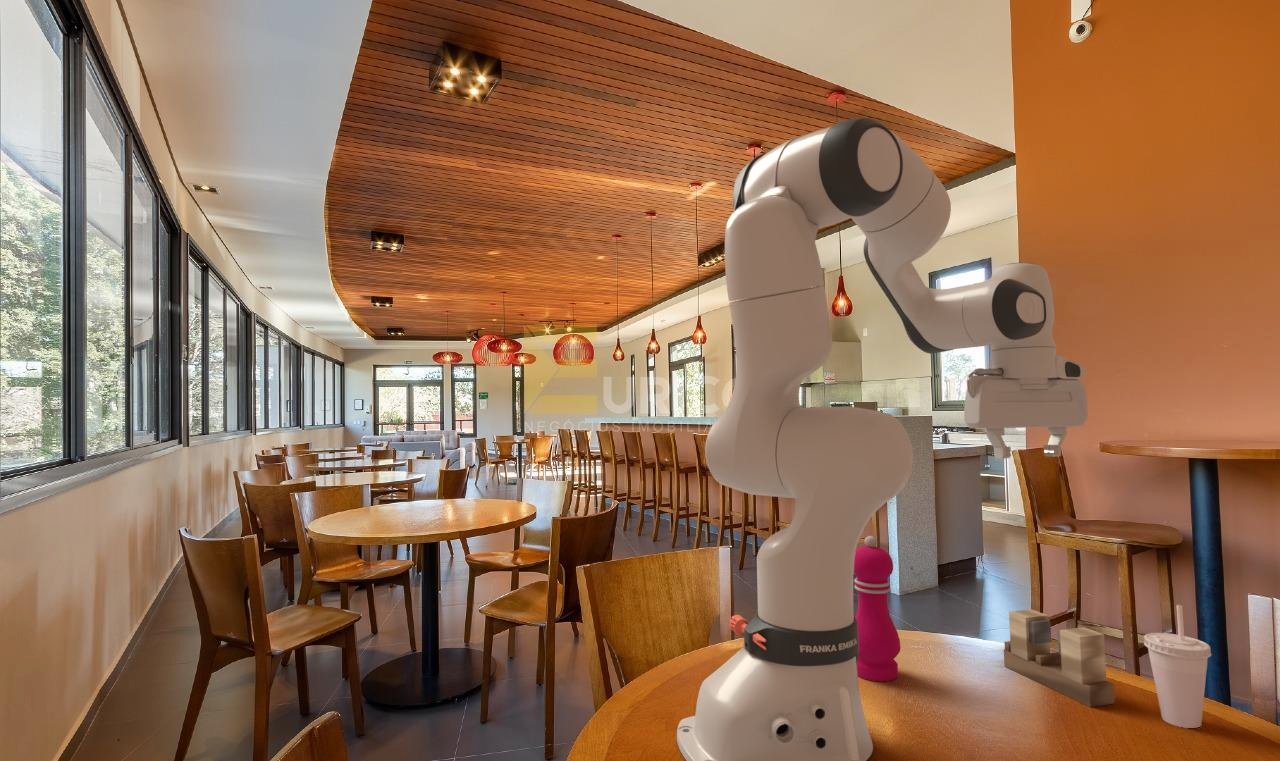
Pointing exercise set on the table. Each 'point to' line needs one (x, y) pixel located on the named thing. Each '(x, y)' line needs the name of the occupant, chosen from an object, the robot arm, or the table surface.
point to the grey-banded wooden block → (1029, 633)
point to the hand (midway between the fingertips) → (1027, 457)
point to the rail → (1056, 681)
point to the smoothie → (1179, 674)
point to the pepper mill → (875, 614)
